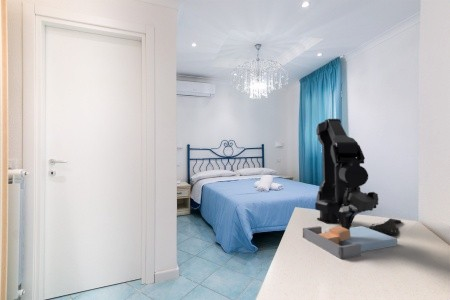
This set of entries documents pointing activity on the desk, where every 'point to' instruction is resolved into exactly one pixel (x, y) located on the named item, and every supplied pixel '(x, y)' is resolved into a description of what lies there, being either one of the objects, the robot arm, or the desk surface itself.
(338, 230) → the tile
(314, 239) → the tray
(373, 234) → the board
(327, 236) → the tile
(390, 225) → the black spiral-grooved part
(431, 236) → the desk surface
